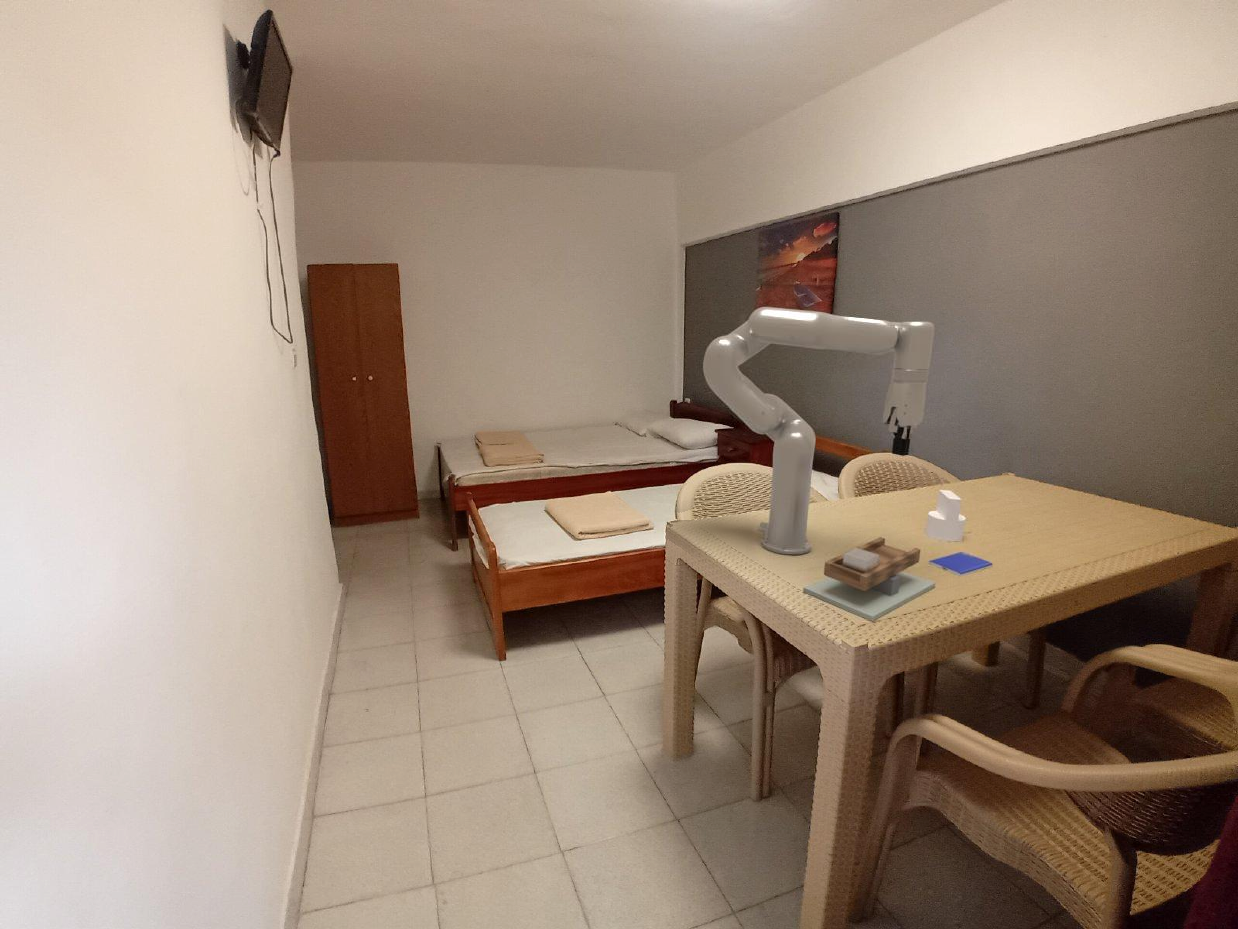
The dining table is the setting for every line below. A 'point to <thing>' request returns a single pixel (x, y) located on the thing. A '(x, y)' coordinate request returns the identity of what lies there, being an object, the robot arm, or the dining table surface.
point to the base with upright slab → (946, 518)
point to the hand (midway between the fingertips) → (899, 454)
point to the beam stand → (870, 594)
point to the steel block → (860, 560)
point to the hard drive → (960, 563)
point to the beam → (887, 567)
